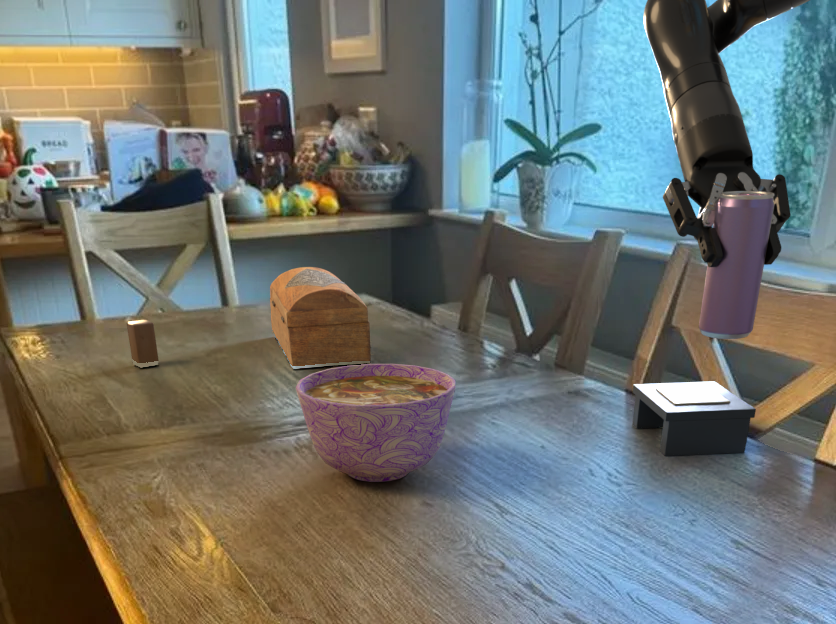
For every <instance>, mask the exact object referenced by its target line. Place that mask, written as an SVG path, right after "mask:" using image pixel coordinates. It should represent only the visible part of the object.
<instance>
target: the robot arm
mask: <svg viewBox="0 0 836 624" xmlns="http://www.w3.org/2000/svg"><path fill="white" fill-rule="evenodd" d="M809 1H811V0H715V1H714V2H713V3H712V4H710V5H709V6H708V4H707V1H706V0H646V3H645V6H644V9H643V16H642V17H643V18H642V19H643V21H642V22H643V26H644V27H643V28H644V30H645V33H646V37H647V39H648V43H649V45H650V49H651V51H652V54H653V57H654V60H655V62H656V65H657V68H658V71H659V73H660V79H661V82H662V88H663V95H664V99H665V104H666V107H667V111H668V115H669V118H670V123H671V133H672V134H671V135H672V138H673V143H674V146H675V150H676V154H677V157H678V161H679V164H680V165H679V166H680V169H681V173H682V176H683V181H682V180H681V179H680V178H678V177H673V178H672V179H671V180H670V182H669V184H668V186H667V188H666V189H665V191H664V192H663V195H662V199H663V202H664V204H665V206H666V209H667V212H668V215H669V216H670V218H671V221H672V223H673V225H674V228H675V231H676V233H677V235H678V236H679V237H683V238H685V237H687V236H690V237H691V236H692V237H693V238H694V240H695V241H697V244H698V248H699V251H700V252H699V253H700V256H701V259H702V262H704V263H706V264H707V265H708V267H716V266H717V265H718V263H719V262H720V261H721V259H722V257H723V252H722V248H721V245H720V241H719V237H718V234H717V231H716V228H713V223H714V219H715V209H716V204H717V202H718V200H719V197H720V196H719V194H720V193H721V192H729V191H762V192H771V193H774V196H773V199H774V210H773V216H772V222H771V228H770V234H769V239H768V245H767V251H766V257H765V262H764V266H769V265H773V263H774V262H775V261H776V260H777V258H778V257H779V254H780V253H781V252H782V244H781V241H780V237H779V234H778V233H779V232H780V231H781V229H782V227H783V226H784V225H785V223H786V222H788V220H789V219H790V218H791V208H790V200H789V195H788V188H787V187H788V186H787V180H786V176H784V175H783V174H781V173H778V174H776V175H775V176H774V178H773V179H771V178H770V179H769V178H761V176H760V174H759V173H758V172H756V170H755V168H754V154H753V150H752V147H751V146H752V145H751V142H750V139H749V136H748V132H747V129H746V125H745V122H744V118H743V114H742V112H741V109H740V105H739V103H738V100H737V98H736V97H735V95H734V92H733V90H732V86H731V83H730V80H729V79H730V78H729V77H728V72H727V69H726V67H725V64H724V62H723V60H722V57H721V55H720V54H721V53H722V52H723V51H724V50H726V49H727V48H729V47H730V46H731V45H733V44H734V43H735V42H737V41H738V40H739V39H741V38H742V37H743V36H744V35H745V34H747V33H748V32H749V31H750V30H752V29H753V28H754V27H756V26H757V25H760V24H762V23H765V22H766V21H769V20H771V19H774V18H776V17H778V16H780V15H782V14H784V13H786V12H788V11H791V10H792V9H795V8H797V7H799V6H802V5H803V4H806V3H807V2H809ZM690 199H691V200H692V201H693V202H694V203H696V204H697V205H698V206H699V209H698V214H696V213H695V212H696V211H695V210H694V208H693V205H692V203H691V201H690Z"/></svg>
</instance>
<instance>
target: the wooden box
mask: <svg viewBox="0 0 836 624" xmlns="http://www.w3.org/2000/svg"><path fill="white" fill-rule="evenodd" d="M269 296H270V298H269V305H270V324H271V330H273V331H272V333H273V332H274V334H275V336H276V338H277V339H278V341H279V343H280V345H281V347H282V349H283V350H284V352H285V354H286V356H287V358H288V360H289V362H290V364H291V365H292V366H305V365H315V364H326V363H339V362H352V361H372V355H371V354H372V352H371V351H372V350H371V324H370V323H371V322H370V321H369V308H368V306H367V305H366V304H365V302H364V301H363V300H362V299H361V297H360V296H359V295H358V294H357V293H355V292H354V290H353V289H351V287H349V286H348V285H347V284H346V283H345V281H344V282H343V281H342V280H341V279H340V278H339V277H338V276H337V275H335V274H334V273H332V272H331V271H328V270H326V269H324V268H321V267H315V266H302V267H296V268H292V269H289V270H286V271H285V272H282V273H281V274H279V275H278V276H277V277H276V278H275V279H274V280H273V281H272V282H271V284H270V285H269ZM290 364H289V365H290Z"/></svg>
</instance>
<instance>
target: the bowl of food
mask: <svg viewBox="0 0 836 624" xmlns="http://www.w3.org/2000/svg"><path fill="white" fill-rule="evenodd" d="M456 381H457V380H456V379H455V378H454V377H453V376H451V375H449V374H448V373H446V372H443V371H441V370H438V369H435V368H431V367H425V366H419V365H414V364H413V365H412V364H400V363H399V364H398V363H370V364H361V365H347V366H336V367H331V368H327V369H323V370H320V371H317V372H312V373H310V374H308V375H306V376H304V377H303V378H301V379H299V381H298V382H297V384H296V385H295V390H296V391H295V392H296V394H297V397H298V401H299V404H300V408H301V410H302V413H303V417H304V421H305V424H306V427H307V431H308V432H309V433H308V434H309V436H310V439H311V441H312V445H313V447H314V449H315V451H316V453H317V455H319V457H320V458H321V459H322V460H323V462H324V463H325V464H326V465H328V466H330V467H331V468H333V469H335V470H336V471H339V472H341V473H343V474H346V475H348V476H349V477H350V478H352V479H355V480H358V481H361V482H369V483H370V482H371V483H382V482H391V481H396V480H400V479H402V478H404V477H406V476H407V475H408V474H409V473H412V472H414V471H416V470H418V469H420V468H421V467H423V466H425V465H427V464H428V463H429V462H430V461H431V460H432V459H433V458H434V456H435V455H436V454H437V452H438V451H439V450H440V448H441V446H442V443H443V438H444V435H445V432H446V428H447V424H448V420H449V416H450V412H451V408H452V403H453V400H454V396H455V392H456V387H457V386H456Z"/></svg>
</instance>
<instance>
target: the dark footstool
mask: <svg viewBox="0 0 836 624" xmlns="http://www.w3.org/2000/svg"><path fill="white" fill-rule="evenodd" d="M632 393H633V394H634V395H635V397H634V405H633V414H632V423H631V424H632V426H633V427H634V428H635V429H637V430H638V429H639V430H640V429H658V428H657V427H663V428H662V431H661V440H660V447H659V452H660V453H661V454H662V455H663V456H664V457H672V456H695V455H696V456H697V455H699V456H700V455H721V454H742V453H745V452H746V447H747V441H748V437H749V430H750V423H751V419H754V418H755V417H756V412H757V409H756V408H755V407H754V406H752V405H751V404H750V403H747V402H746V401H745V400H743V399H742V398H740V397H739V396H738V395H736V394H734V393H733V392H731V391H730V390H728V389H727V388H726V387H724V386H722V385H721V384H719V383H718V382H716V381H714V380H713V381H710V380H709V381H690V382H689V381H688V382H687V381H686V382H685V381H684V382H661V383H659V382H658V383H657V382H656V383H633V385H632Z"/></svg>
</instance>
